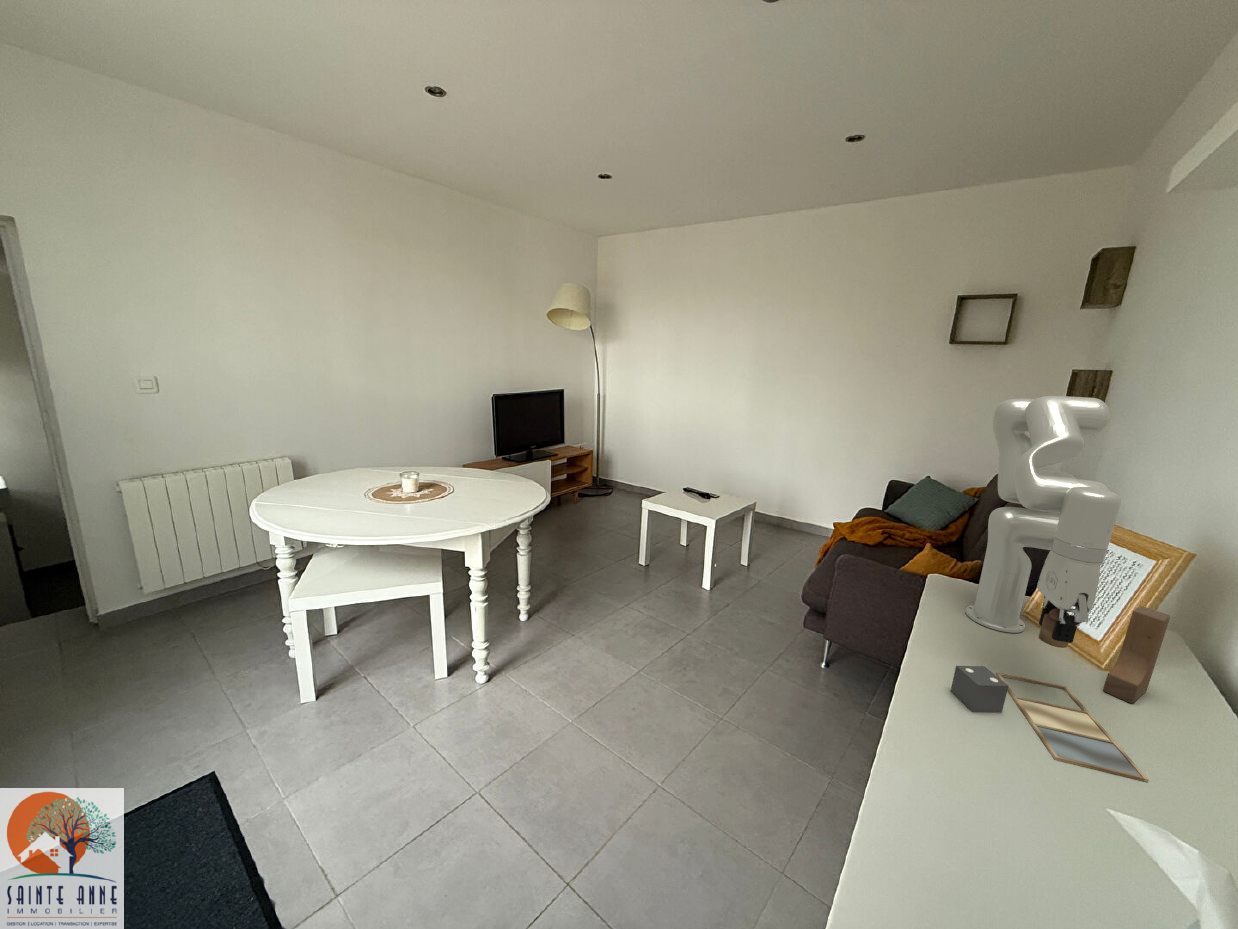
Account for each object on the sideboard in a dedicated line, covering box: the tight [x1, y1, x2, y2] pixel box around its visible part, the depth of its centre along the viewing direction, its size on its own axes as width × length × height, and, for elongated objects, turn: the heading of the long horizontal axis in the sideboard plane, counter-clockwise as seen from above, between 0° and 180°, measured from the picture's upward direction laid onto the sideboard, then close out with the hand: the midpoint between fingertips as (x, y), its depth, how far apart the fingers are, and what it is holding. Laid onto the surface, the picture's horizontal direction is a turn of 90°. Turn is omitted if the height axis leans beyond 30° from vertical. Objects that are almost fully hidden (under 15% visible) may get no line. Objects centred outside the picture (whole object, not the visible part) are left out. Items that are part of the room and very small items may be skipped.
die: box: [950, 665, 1009, 713], centre depth 95 cm, size 6×6×6 cm
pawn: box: [1038, 608, 1070, 649], centre depth 95 cm, size 4×4×7 cm
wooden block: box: [1102, 605, 1171, 704], centre depth 98 cm, size 9×4×18 cm, turn 119°
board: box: [995, 671, 1150, 783], centre depth 91 cm, size 24×12×1 cm, turn 161°
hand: (1055, 633), depth 96 cm, fingers closed on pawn, 4 cm apart
